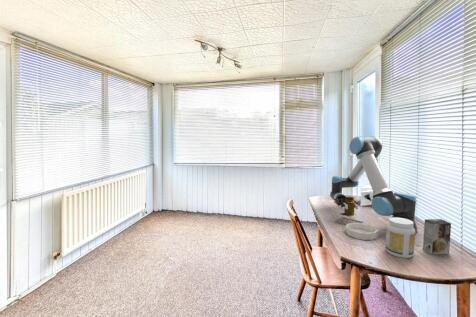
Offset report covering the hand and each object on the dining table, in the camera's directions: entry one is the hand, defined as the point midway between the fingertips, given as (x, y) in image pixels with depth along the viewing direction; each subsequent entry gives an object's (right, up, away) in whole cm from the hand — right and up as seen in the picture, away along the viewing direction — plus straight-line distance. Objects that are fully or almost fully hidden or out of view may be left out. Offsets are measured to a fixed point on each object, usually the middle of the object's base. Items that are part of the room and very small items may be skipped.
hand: (352, 207), depth 165 cm
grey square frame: (0, -11, +6) cm, 13 cm away
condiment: (0, -6, +6) cm, 8 cm away
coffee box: (+26, -16, -37) cm, 47 cm away
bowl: (-1, -13, -15) cm, 20 cm away
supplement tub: (+6, -16, -38) cm, 42 cm away
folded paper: (+38, -7, +52) cm, 65 cm away
